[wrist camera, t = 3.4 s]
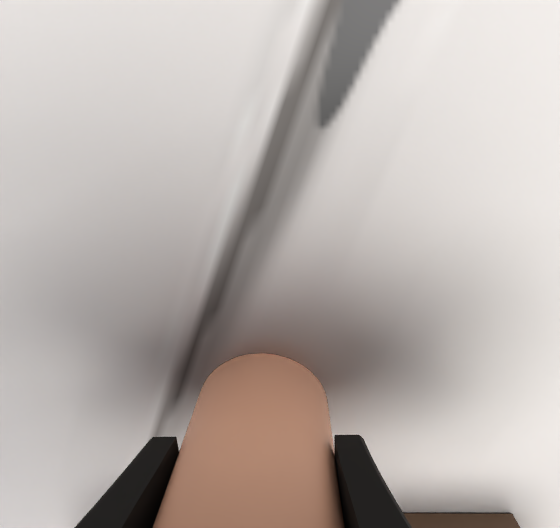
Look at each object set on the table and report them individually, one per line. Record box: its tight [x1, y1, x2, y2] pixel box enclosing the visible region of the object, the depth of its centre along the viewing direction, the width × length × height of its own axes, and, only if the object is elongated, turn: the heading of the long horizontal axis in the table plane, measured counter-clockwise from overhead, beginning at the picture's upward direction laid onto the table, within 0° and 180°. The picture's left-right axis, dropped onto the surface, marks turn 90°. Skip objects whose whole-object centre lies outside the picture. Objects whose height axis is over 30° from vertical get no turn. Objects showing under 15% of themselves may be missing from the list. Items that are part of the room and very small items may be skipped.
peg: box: [153, 353, 345, 528], centre depth 8 cm, size 4×4×6 cm
